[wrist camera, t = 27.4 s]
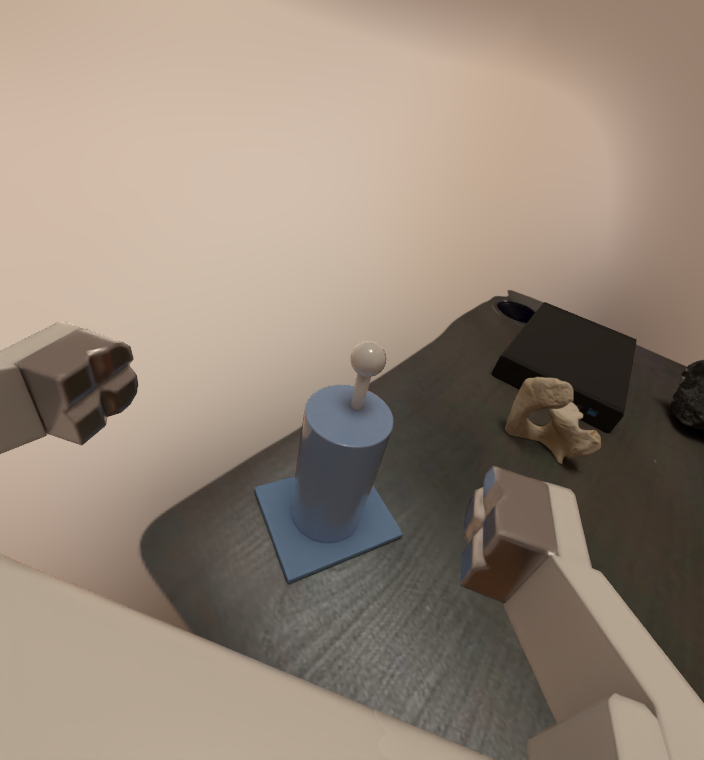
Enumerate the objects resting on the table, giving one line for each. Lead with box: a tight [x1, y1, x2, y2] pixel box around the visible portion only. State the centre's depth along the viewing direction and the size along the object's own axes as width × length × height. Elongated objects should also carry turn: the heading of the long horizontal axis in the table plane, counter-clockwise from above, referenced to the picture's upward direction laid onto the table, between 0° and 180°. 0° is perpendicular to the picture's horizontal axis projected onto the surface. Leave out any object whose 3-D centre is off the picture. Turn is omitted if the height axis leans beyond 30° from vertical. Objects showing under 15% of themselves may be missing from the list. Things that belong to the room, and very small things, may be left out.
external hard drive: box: [492, 302, 636, 433], centre depth 54 cm, size 14×23×3 cm, turn 145°
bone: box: [505, 377, 601, 464], centre depth 39 cm, size 9×6×10 cm
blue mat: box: [254, 476, 403, 584], centre depth 30 cm, size 9×8×1 cm
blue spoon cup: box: [291, 341, 393, 543], centre depth 25 cm, size 5×5×15 cm
